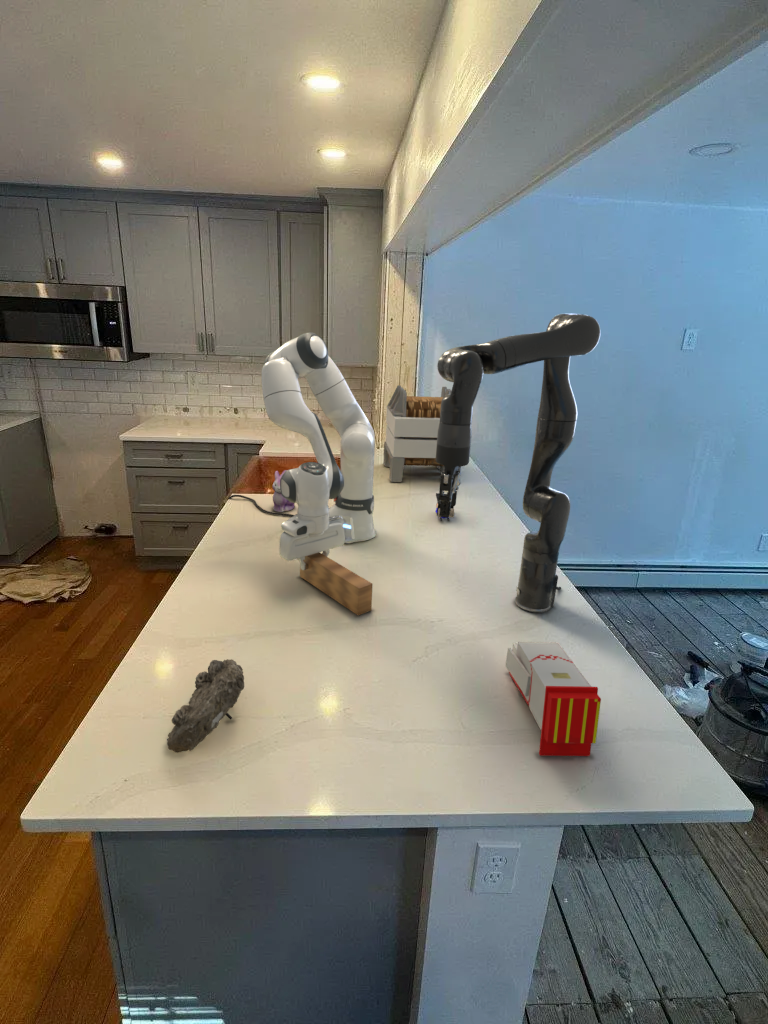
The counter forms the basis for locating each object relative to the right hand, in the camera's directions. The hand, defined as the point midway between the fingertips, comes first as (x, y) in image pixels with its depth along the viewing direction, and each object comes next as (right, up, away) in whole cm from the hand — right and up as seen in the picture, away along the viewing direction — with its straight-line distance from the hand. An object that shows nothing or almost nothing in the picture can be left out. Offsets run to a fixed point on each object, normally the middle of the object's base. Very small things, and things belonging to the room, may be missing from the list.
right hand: (447, 510), depth 132 cm
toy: (+17, -40, -17) cm, 46 cm away
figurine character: (+8, -2, +87) cm, 87 cm away
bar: (-29, -23, +25) cm, 44 cm away
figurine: (-54, +1, +88) cm, 103 cm away
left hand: (-35, -16, +31) cm, 49 cm away
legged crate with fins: (+2, +19, +143) cm, 145 cm away
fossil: (-48, -39, -23) cm, 66 cm away
